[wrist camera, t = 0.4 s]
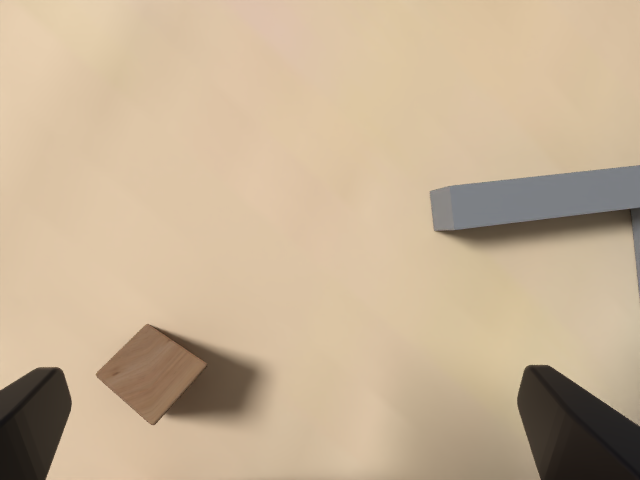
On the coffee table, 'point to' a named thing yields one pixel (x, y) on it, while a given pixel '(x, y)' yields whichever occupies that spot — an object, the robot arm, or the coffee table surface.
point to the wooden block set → (151, 373)
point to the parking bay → (540, 200)
